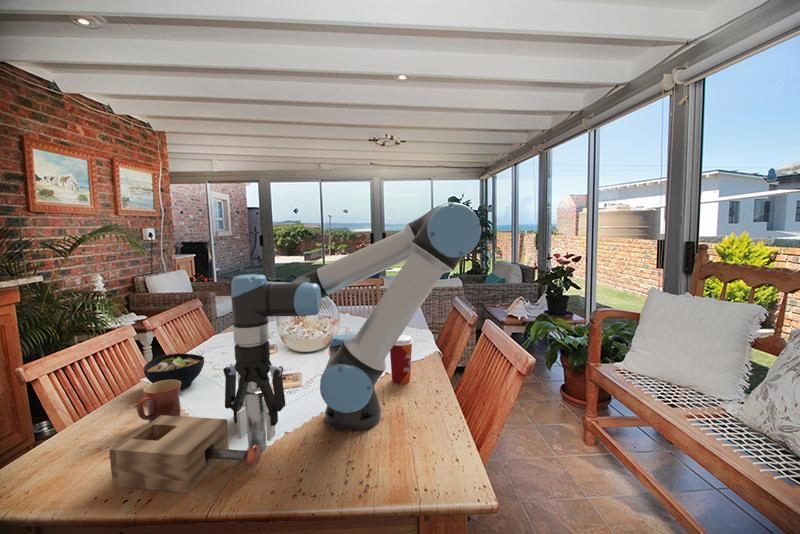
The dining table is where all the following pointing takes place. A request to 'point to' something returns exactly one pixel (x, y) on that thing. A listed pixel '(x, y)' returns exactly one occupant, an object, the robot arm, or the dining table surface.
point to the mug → (160, 400)
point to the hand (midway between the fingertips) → (256, 436)
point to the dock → (168, 453)
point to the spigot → (255, 418)
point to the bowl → (174, 368)
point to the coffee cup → (401, 360)
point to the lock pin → (236, 455)
